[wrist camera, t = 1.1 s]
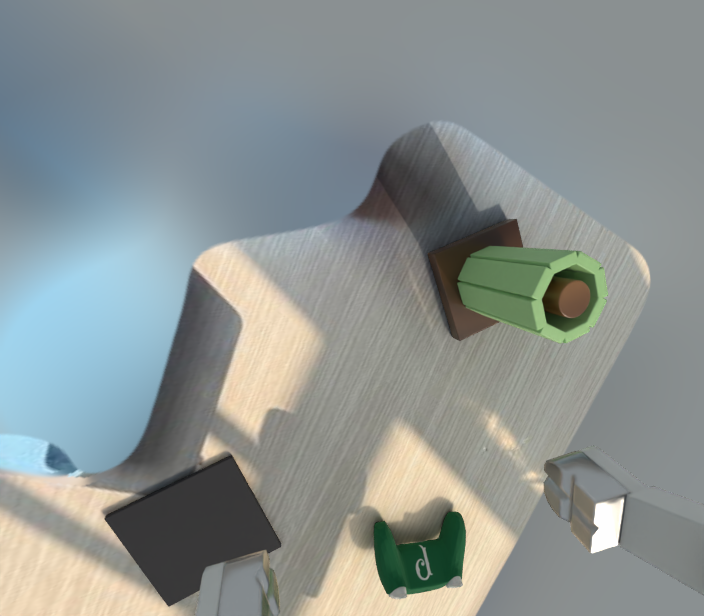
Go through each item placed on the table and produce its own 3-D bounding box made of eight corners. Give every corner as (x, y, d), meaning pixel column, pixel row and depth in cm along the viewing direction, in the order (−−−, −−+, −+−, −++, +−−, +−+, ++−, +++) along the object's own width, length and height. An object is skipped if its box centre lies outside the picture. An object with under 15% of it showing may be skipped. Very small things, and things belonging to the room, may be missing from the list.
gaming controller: (364, 524, 36) (373, 600, 33) (375, 521, 33) (386, 605, 30) (446, 512, 38) (462, 583, 35) (464, 509, 35) (483, 586, 32)
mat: (106, 515, 28) (104, 519, 27) (231, 454, 29) (231, 457, 29) (169, 602, 30) (168, 607, 30) (281, 543, 32) (281, 546, 32)
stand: (427, 253, 30) (506, 263, 21) (507, 219, 31) (617, 213, 22) (452, 337, 32) (534, 381, 23) (526, 302, 34) (633, 330, 24)
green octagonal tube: (450, 262, 29) (524, 274, 21) (508, 237, 30) (599, 239, 22) (468, 323, 31) (542, 355, 23) (522, 298, 32) (612, 320, 24)
